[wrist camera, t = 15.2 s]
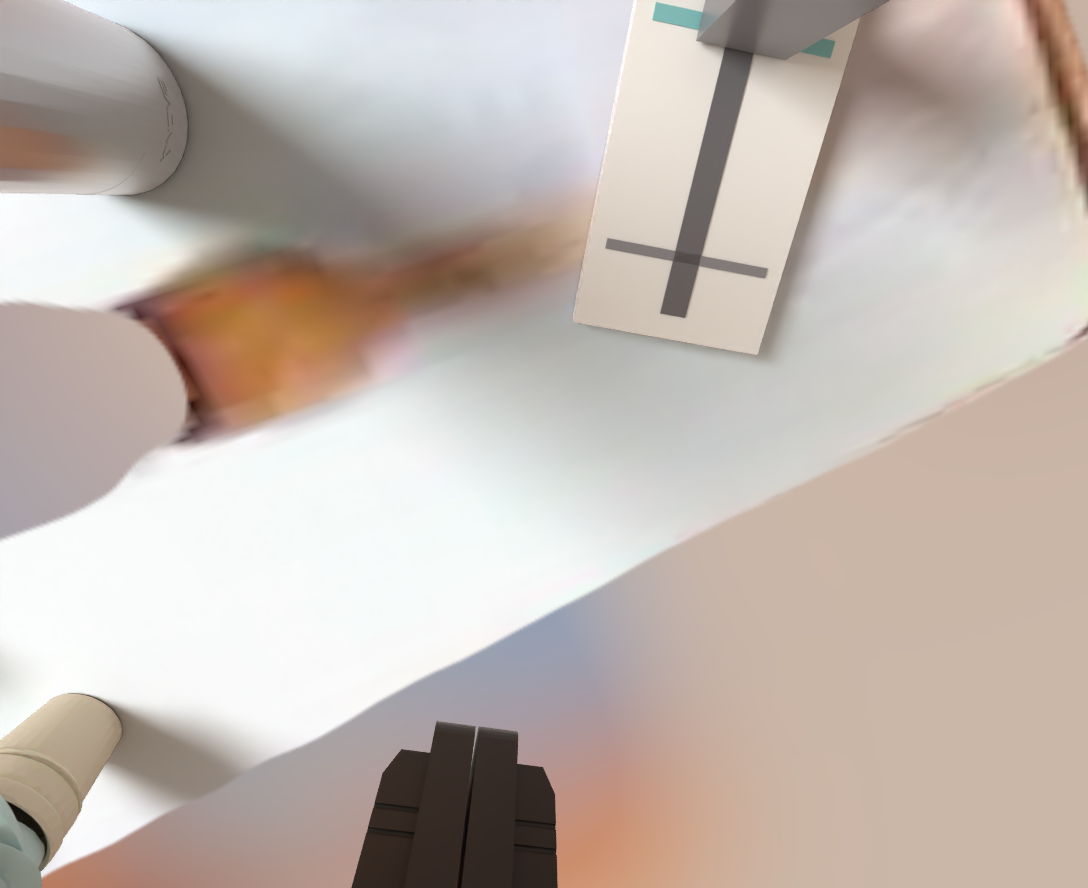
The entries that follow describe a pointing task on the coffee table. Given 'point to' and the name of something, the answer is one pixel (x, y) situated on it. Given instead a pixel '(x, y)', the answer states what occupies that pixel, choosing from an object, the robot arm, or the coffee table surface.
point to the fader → (777, 23)
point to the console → (703, 180)
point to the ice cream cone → (49, 780)
